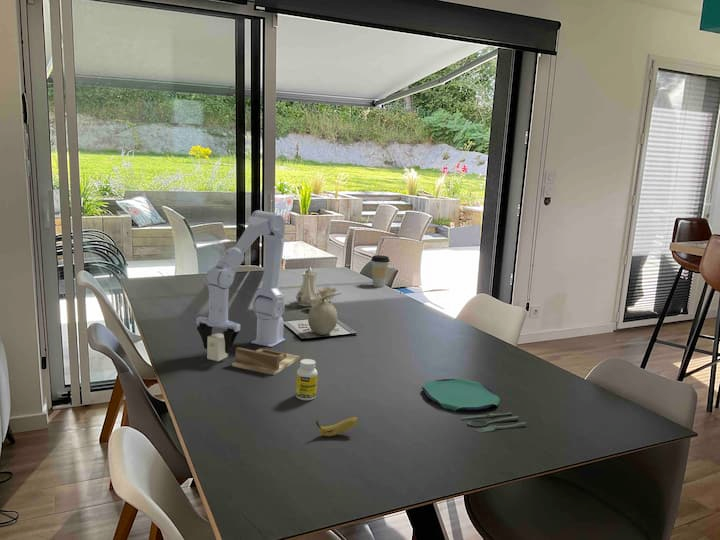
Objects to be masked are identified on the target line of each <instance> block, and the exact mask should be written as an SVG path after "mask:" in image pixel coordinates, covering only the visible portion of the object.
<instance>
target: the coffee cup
mask: <svg viewBox="0 0 720 540" xmlns="http://www.w3.org/2000/svg"><path fill="white" fill-rule="evenodd" d="M389 262H391V261H390V259H389V256H388V255H387V256H386V255H378V254H377V255H373V256H372V257H371V264H372V265H371V273H372V275H371V276H372V286H373V287H378V288H383V287H382V286H384V287H385V283H386V279H387V273H388V267H389Z"/></svg>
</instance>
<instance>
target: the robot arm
mask: <svg viewBox="0 0 720 540" xmlns="http://www.w3.org/2000/svg"><path fill="white" fill-rule="evenodd" d="M247 220H248V223H247V226H246V228H245V230H244V231H243V232H242V234H241V236H240V238H239V239H238V241H237V242H236V244H235V246H234V247H229V248H228V249H226V250H225V252H224V254H223V255H222V257H221V258H220V260H219V261H218V262H217V264H215V266H213V267H211V268H210V269H208V270H207V272H206V275H205V276H204V281H205V283H206V285H207V290H208V317H206V316H205V317H204V316H199V317H197V318H196V325H198V326H197V327H196V330H197V332H198V334H199V335H200V337H201V341H202V345H203V347H204V349H205V350H207V339H208V336H210V335H212V334H213V333H212V332H213V328H219V329H225V331H224V330H223V331H222V334H223V335H224V339H225V353H228V354H230V353H231V352H232V349H233V346H234V343H235V340H236V338H237V337H238V335H239V332H240V331H241V324H240V323H238V322H234V321H231V320H229V294H230V293H229V292H230V291H229V288H230V287H231V286H232V285H233V283H234V279H235V275H236V271H237V270H238V269H239V267H240V266H241V265H242V263H243V262H244V261H245V253H246V252H247V251H248V249H249V248H250V247H252V245H253V243H254V242H255V241H256V240H257V238H259V237H260V236H263V237H264V238H265V239H266V240H267V241H266V249H265V250H266V251H265V257H264V267H263V276H262V283H261V288H259V289H257V291H255V296H254V299H253V301H252V307H251V308H252V310H253V312H254V313H255V317H256V316H257V317H256V318H257V319H256V321H257V322H256V339H254V340H251V341H250V342H251V344H255V345H259V346H265V347H269V348H272V347H274V346H276V345H279V344H280V343H282V342H284V341H286V338H284V318H283V315H284V312H285V309H286V307H285V300H284V299H285V295H284V294H283V293H282V291H281V290H280V289H279V287H280V277H281V272H282V271H281V269H282V262H283V261H282V260H283V254H284V253H283V252H284V246H285V245H284V244H285V230H286V222H287V221H286V219H285V217H284V216H283V215H282V214H281V213H279V212H271V211H263V210H260V209H257V210H254V211H253V212H252V214H251V215H250V217H249V218H248V219H247Z"/></svg>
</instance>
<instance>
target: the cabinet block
mask: <svg viewBox="0 0 720 540" xmlns="http://www.w3.org/2000/svg"><path fill="white" fill-rule="evenodd" d="M206 350H207V351H206V352H207V353H206V356H207V357H206V359H207V360H211V361H216V362H219V361H221V360H224V359H225V358H228V357H229V353H225V339H224V335H223V332H222V333H220V332H216V333H212V334H211V335H210V336H208V339H207V349H206Z"/></svg>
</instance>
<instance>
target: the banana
mask: <svg viewBox="0 0 720 540" xmlns="http://www.w3.org/2000/svg"><path fill="white" fill-rule="evenodd" d="M358 421H359V418H358V417H356V416H353V417H349V418H346V419H343V420H342V421H340V422H337V423H336V424H332V425H327V426H323V425H320V424H319V420H316V421H315V424H316V426H317V427H318V431H319V434H321V436H324V437H334V436H338V435H340V434H342V433H344V432H346V431H348V430H350V429H351V428H352V427H354V426H355V425H356V424H357V423H358Z"/></svg>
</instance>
